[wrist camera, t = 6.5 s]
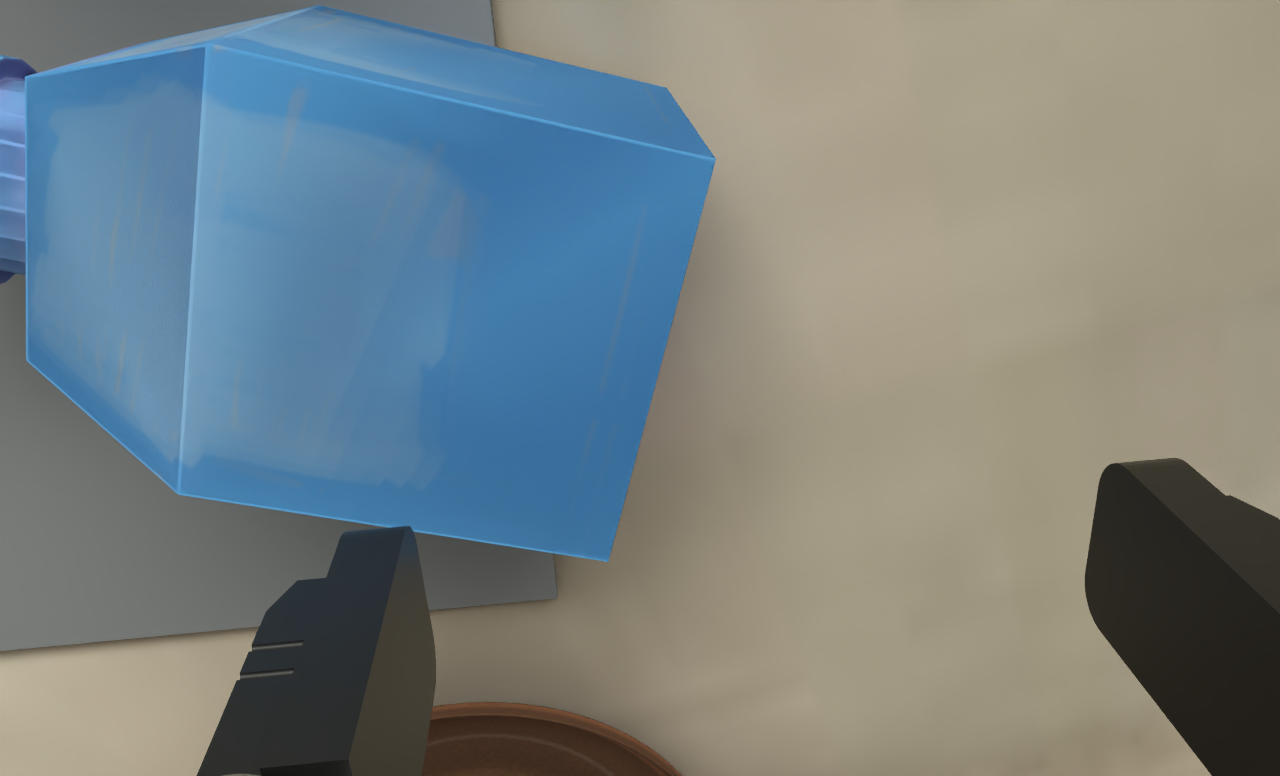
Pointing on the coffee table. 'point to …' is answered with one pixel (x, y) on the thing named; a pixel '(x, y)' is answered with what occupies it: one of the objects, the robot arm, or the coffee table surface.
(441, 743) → the cup and saucer
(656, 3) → the coffee table surface
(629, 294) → the perfume bottle
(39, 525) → the mat
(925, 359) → the coffee table surface
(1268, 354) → the coffee table surface
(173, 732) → the coffee table surface
